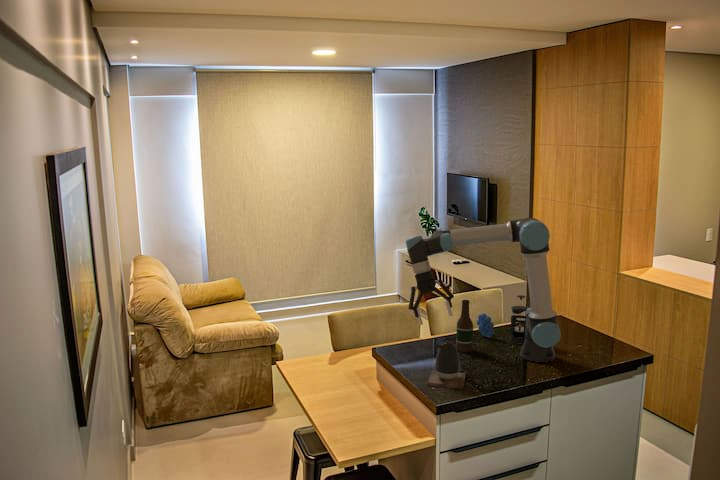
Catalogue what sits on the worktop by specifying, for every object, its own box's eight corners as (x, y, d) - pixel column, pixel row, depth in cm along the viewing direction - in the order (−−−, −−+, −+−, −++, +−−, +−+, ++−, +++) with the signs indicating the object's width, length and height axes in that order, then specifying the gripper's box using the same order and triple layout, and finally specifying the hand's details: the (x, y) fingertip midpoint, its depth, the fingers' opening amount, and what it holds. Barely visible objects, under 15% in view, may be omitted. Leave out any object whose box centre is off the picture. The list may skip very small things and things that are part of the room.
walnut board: (465, 375, 252) (465, 373, 252) (462, 388, 239) (463, 385, 238) (431, 372, 255) (432, 370, 255) (427, 385, 242) (427, 382, 242)
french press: (534, 343, 294) (536, 297, 290) (517, 345, 291) (519, 299, 287) (519, 336, 305) (521, 292, 301) (503, 338, 302) (505, 293, 298)
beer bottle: (454, 351, 282) (455, 301, 279) (457, 346, 289) (459, 297, 286) (470, 353, 279) (472, 303, 276) (474, 348, 287) (475, 299, 283)
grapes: (470, 335, 307) (471, 312, 305) (480, 333, 310) (481, 310, 309) (486, 341, 297) (487, 317, 295) (496, 339, 301) (497, 315, 299)
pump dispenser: (431, 373, 252) (432, 338, 249) (456, 372, 252) (457, 337, 250) (437, 382, 241) (437, 346, 239) (462, 382, 242) (463, 345, 240)
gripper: (446, 265, 266) (460, 312, 264) (393, 280, 261) (406, 327, 260) (452, 263, 259) (466, 312, 257) (397, 278, 254) (411, 328, 252)
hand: (436, 320), depth 258 cm, fingers open, 13 cm apart
